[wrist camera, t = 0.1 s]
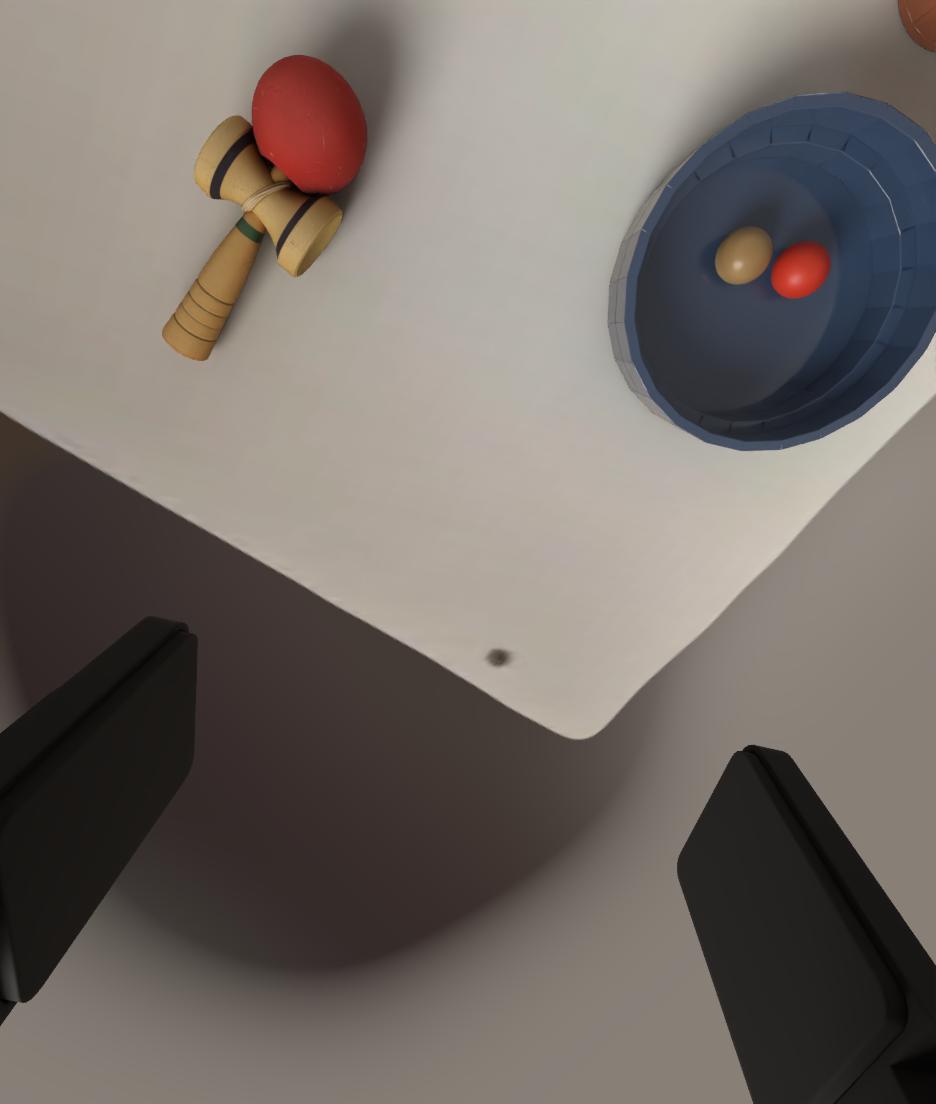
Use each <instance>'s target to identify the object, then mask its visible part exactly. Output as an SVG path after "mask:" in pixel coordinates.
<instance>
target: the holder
mask: <svg viewBox="0 0 936 1104" xmlns="http://www.w3.org/2000/svg"><path fill="white" fill-rule="evenodd" d="M898 6H899V11H900V16H901V19H902V22H903V24H904V26H905V28H906V30H907V32H908V33H909V35H910V36H911V37H912V39H913V40H914V41H915V42H916V43H918V44H919V45H920V46H922V47H923V48H925V49H927V50H929V51H932V52H935V53H936V0H898Z"/></svg>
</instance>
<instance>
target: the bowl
mask: <svg viewBox="0 0 936 1104" xmlns="http://www.w3.org/2000/svg"><path fill="white" fill-rule="evenodd" d="M745 226H755V227H758V228H761V229H763V230H764V231H765V232H766V233H767V234H768V235H769V237H770V239H771V241H772V246H773V252H772V257H771V260H770V263H769V265H768V266H767V268H766V269H765V271H764V272H763V273H762V274H761V275H760V276H759V277H757V278H756V279H755V280H753V281H751V282H749V283H746V284H741V285H734V284H730V283H727V282H725V281H724V280H723V279H722V278H721V277H720V276H719V275H718V273H717V271H716V267H715V256H716V252H717V250H718V247H719V245H720V244H721V242H722V241H723V240H724V239H725V237H726V236H727V235H729V234H730V233H731V232H733V231H734V230H736V229H738V228H741V227H745ZM802 241H814V242H817V243H819V244H821V245H823V246H824V247H825V248H826V249H827V251H828V252H829V255H830V258H831V268H830V272H829V274H828V277H827V279H826V280H825V282H824V283H823V284H822V285H821V286H820V287H819V288H818V289H817V290H816V291H815V292H813V293H811V294H810V295H808V296H805V297H802V298H797V299H790V298H786V297H783V296H781V295H780V294H778V293H777V292H776V291H775V289H774V288H773V286H772V283H771V271H772V267H773V265H774V263H775V261H776V259H777V258H778V256H779V255H780V254H781V253H782V252H783V251H784V250H785V249H787V248H788V247H790V246H791V245H793V244H796V243H798V242H802ZM608 328H609V333H610V338H611V343H612V348H613V353H614V358H615V361H616V362H617V364H618V366H619V368H620V370H621V372H622V374H623V376H624V378H625V380H626V382H627V384H628V386H629V388H630V390H631V391H632V392H633V393H634V394H635V395H636V396H637V397H638V398H639V399H640V400H641V402H642V403H643V404H644V405H645V406H646V407H647V408H648V409H649V410H650V411H651V412H652V413H653V414H655V415H657V416H658V417H660V418H662V419H664V420H665V421H667V422H669V423H671V424H672V425H674V426H676V427H678V428H679V429H681V430H683V431H685V432H687V433H689V434H691V435H692V436H694V437H696V438H698V439H700V440H702V441H704V442H706V443H710V444H714V445H718V446H722V447H726V448H731V449H735V450H739V451H760V450H780V449H785V448H789V447H793V446H796V445H800V444H803V443H807V442H811V441H814V440H818V439H820V438H823V437H825V436H827V435H828V434H830V433H832V432H834V431H836V430H838V429H840V428H842V427H844V426H845V425H847V424H849V423H851V422H853V421H855V420H857V419H858V418H860V417H861V416H863V415H864V414H865V413H866V412H868V411H869V410H870V409H871V408H872V407H874V406H875V405H876V404H877V403H878V402H880V401H881V400H882V399H883V398H884V397H886V396H887V395H888V394H889V393H890V392H892V391H893V390H894V389H895V388H896V387H897V386H898V384H899V383H900V382H901V381H902V380H903V378H904V377H905V376H906V375H907V373H908V372H909V371H910V370H911V368H912V367H913V366H914V365H915V363H916V362H917V361H918V360H919V359H920V357H921V356H922V355H923V354H924V352H925V350H926V349H927V348H928V346H929V344H930V342H931V340H932V338H933V336H934V334H935V332H936V145H935V144H934V142H933V141H932V139H931V138H930V136H929V135H928V133H927V132H926V131H924V129H923V128H922V127H920V126H919V125H918V124H916V123H915V122H913V121H912V120H911V119H909V118H908V117H906V116H905V115H904V114H902V113H901V112H900V111H898V110H897V109H895V108H894V107H893V106H891V105H888V103H885V102H881V101H877V100H873V99H870V98H866V97H862V96H858V95H855V94H851V93H847V92H833V93H819V94H804V95H796V96H791V97H789V98H786V99H783V100H781V101H778V102H775V103H773V104H770V105H767V106H765V107H762V108H759V109H757V110H754V111H751V112H749V113H747V114H745V115H743V116H742V117H740V118H739V119H738V120H736V121H735V122H733V123H732V124H730V125H729V126H728V127H726V128H725V129H723V130H722V131H720V132H719V133H718V134H716V135H715V136H713V137H712V138H710V139H709V140H708V141H706V142H705V143H703V144H702V145H701V146H700V147H699V148H698V149H697V150H696V151H694V152H693V153H692V154H691V155H690V156H689V157H688V158H687V159H686V160H684V161H683V162H682V163H681V164H680V165H679V166H678V167H677V168H676V169H674V170H673V171H672V172H671V173H670V175H669V176H668V177H667V178H666V179H665V180H664V181H663V182H662V183H661V185H660V186H659V187H658V188H657V189H656V190H655V191H654V192H653V194H652V195H651V196H650V197H649V198H648V199H647V200H646V201H645V203H644V204H643V205H642V207H641V209H640V210H639V212H638V214H637V216H636V218H635V219H634V221H633V223H632V225H631V227H630V228H629V230H628V232H627V234H626V236H625V237H624V239H623V241H622V244H621V246H620V249H619V253H618V256H617V260H616V263H615V267H614V270H613V273H612V277H611V280H610V285H609V305H608Z"/></svg>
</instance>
